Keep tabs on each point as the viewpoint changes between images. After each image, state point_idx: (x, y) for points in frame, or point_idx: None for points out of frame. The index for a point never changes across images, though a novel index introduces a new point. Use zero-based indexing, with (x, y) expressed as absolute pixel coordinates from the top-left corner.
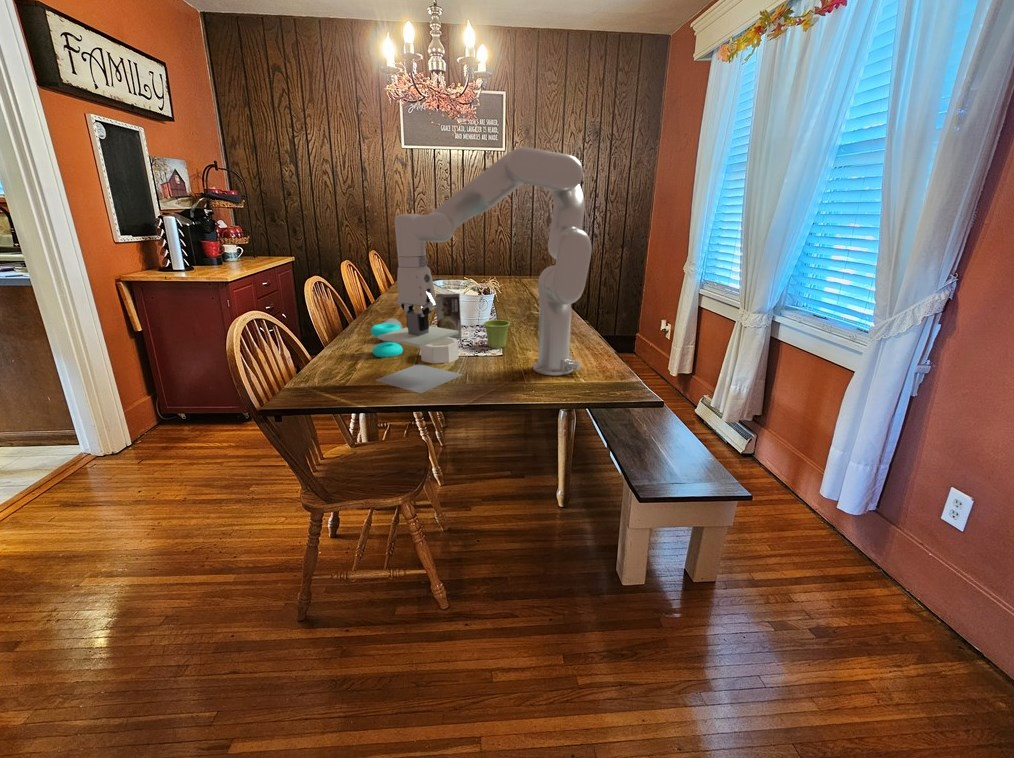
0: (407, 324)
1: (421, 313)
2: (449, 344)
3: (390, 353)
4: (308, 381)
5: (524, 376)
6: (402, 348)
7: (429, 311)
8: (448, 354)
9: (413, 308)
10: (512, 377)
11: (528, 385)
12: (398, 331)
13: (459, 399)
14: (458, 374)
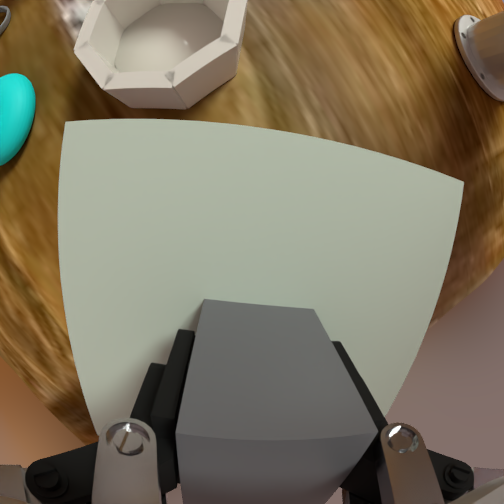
0: None
1: (360, 497)
2: (227, 22)
3: (19, 141)
4: (32, 376)
5: (472, 114)
6: (26, 81)
7: (434, 466)
8: (236, 59)
9: (158, 480)
10: (458, 128)
11: (493, 172)
12: (97, 352)
13: None
14: None
